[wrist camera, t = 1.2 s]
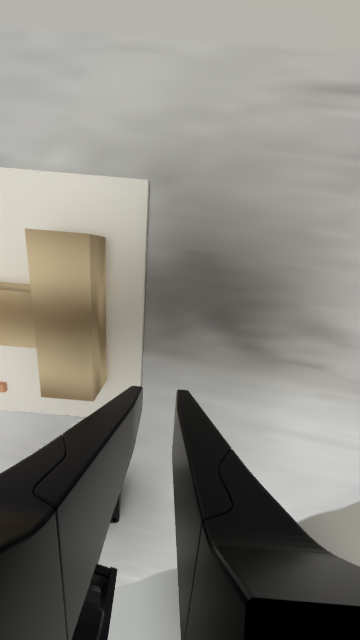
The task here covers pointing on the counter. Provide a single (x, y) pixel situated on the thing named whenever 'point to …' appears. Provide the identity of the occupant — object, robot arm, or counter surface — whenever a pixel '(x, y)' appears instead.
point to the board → (121, 273)
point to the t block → (61, 312)
